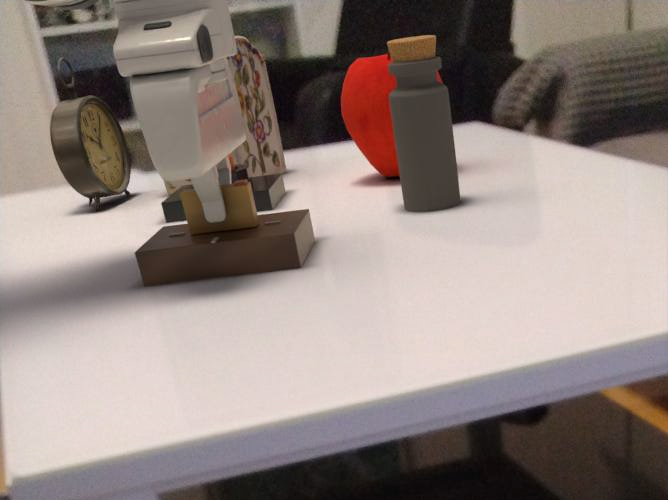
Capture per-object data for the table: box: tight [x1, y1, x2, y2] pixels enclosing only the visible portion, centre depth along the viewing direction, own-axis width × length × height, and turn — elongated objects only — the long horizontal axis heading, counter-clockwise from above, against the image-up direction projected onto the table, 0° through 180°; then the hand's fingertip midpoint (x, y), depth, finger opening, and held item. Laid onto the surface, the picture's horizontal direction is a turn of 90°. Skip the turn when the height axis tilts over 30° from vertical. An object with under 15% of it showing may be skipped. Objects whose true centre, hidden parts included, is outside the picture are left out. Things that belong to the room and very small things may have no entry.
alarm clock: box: [49, 56, 132, 213], centre depth 123 cm, size 11×5×16 cm, turn 171°
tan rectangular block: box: [180, 179, 259, 235], centre depth 90 cm, size 6×2×4 cm, turn 91°
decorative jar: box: [163, 34, 287, 196], centre depth 125 cm, size 12×12×18 cm
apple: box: [340, 47, 444, 178], centre depth 117 cm, size 12×12×13 cm
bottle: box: [386, 34, 461, 213], centre depth 101 cm, size 6×6×15 cm
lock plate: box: [134, 208, 316, 287], centre depth 92 cm, size 14×10×3 cm
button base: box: [160, 164, 287, 224], centre depth 116 cm, size 12×10×4 cm
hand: (221, 216), depth 91 cm, fingers closed on tan rectangular block, 2 cm apart
